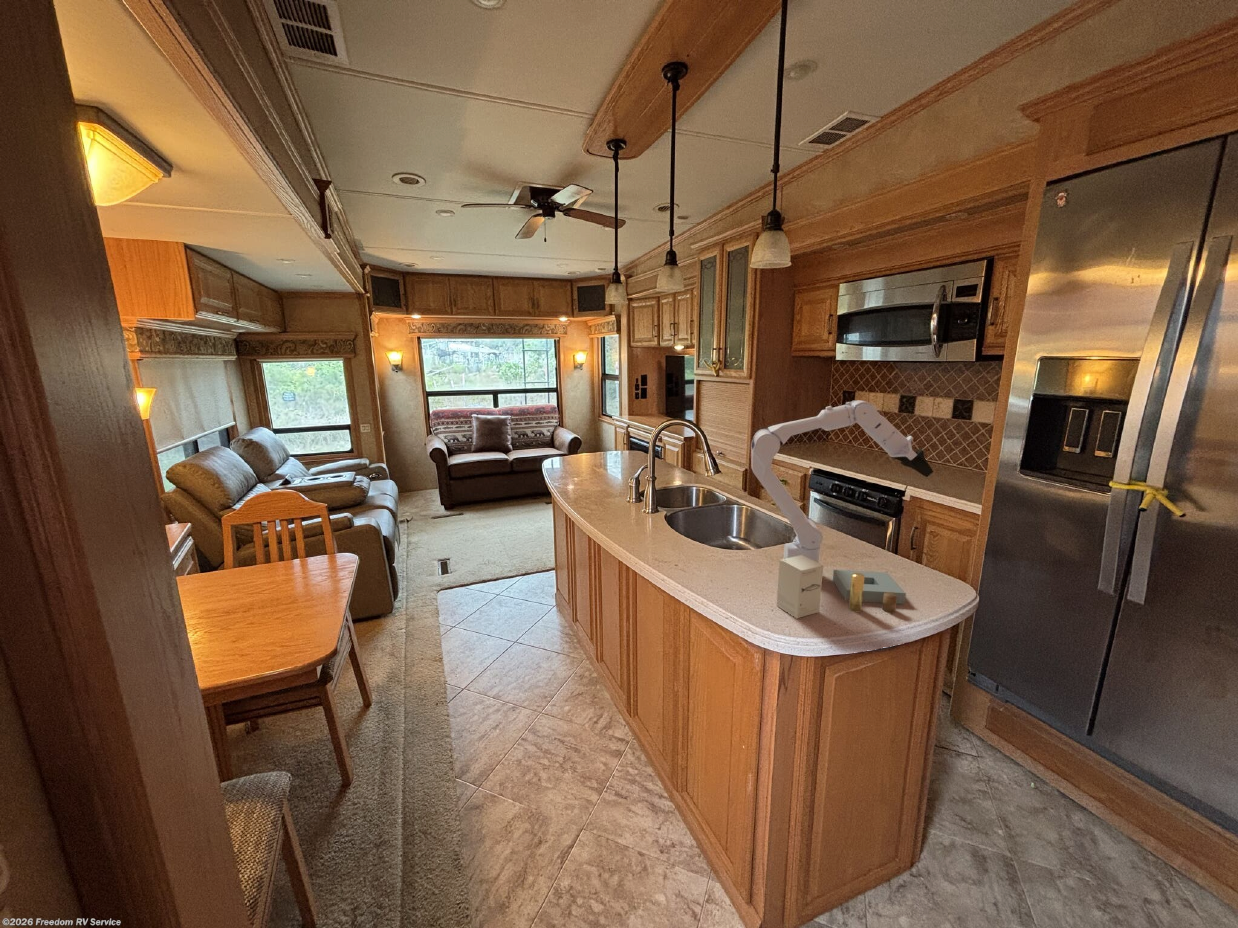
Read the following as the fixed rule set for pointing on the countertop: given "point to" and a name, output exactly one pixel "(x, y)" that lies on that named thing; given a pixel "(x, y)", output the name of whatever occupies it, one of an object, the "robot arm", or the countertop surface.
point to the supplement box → (799, 586)
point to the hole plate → (869, 585)
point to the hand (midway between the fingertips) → (923, 470)
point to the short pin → (889, 602)
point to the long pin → (856, 592)
